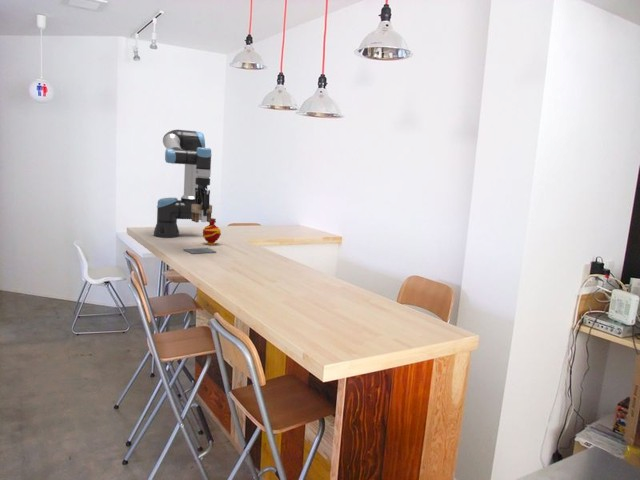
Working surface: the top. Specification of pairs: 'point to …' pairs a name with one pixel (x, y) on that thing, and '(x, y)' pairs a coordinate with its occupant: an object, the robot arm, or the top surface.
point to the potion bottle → (211, 232)
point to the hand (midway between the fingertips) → (201, 220)
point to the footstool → (197, 209)
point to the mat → (199, 250)
